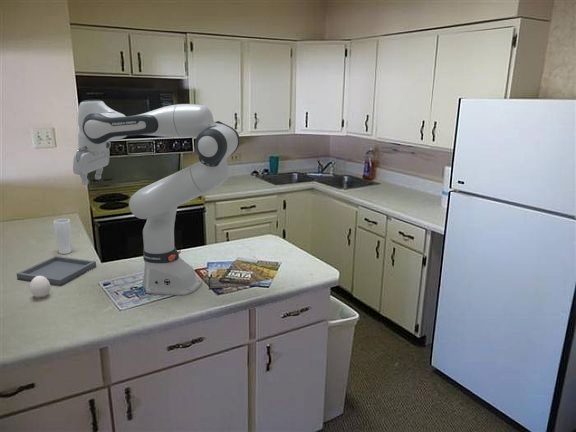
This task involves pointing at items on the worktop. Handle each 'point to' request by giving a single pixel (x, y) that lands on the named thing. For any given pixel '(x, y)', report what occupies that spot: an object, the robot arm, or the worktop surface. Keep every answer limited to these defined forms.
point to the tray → (57, 270)
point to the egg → (40, 286)
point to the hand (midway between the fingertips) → (91, 181)
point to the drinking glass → (63, 235)
